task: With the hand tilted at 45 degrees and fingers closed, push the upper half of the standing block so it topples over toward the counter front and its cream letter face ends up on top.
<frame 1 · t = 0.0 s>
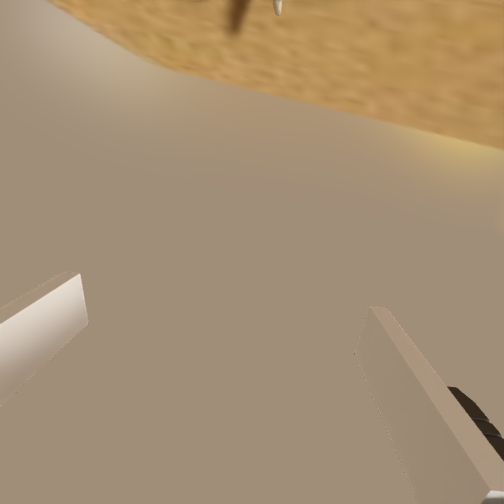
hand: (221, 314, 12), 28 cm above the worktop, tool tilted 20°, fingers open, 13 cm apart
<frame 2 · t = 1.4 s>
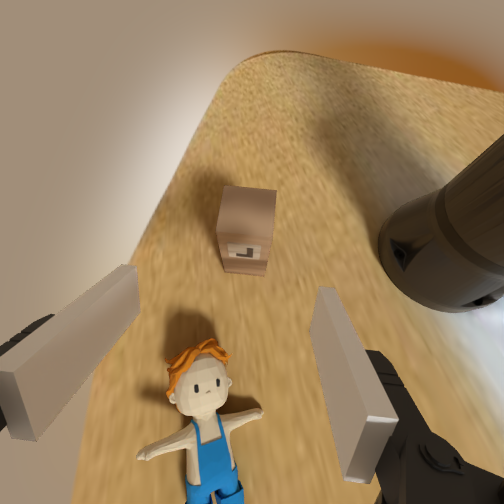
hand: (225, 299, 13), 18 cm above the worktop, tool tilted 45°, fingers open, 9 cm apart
toy: (210, 420, 26), on the worktop
block: (246, 256, 33), on the worktop
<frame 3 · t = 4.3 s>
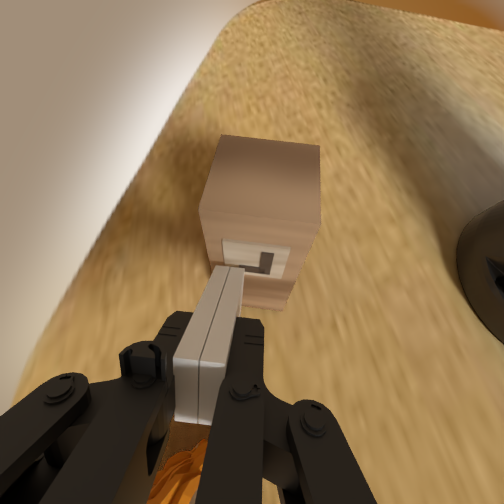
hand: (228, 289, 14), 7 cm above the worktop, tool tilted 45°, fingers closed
block: (254, 277, 21), on the worktop, tilted 9°, touching gripper
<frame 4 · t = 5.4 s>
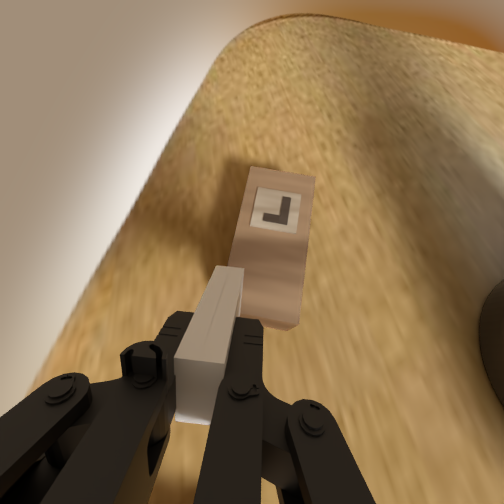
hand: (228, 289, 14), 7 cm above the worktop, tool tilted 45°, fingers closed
block: (256, 321, 18), point 2 cm above the worktop, tilted 90°
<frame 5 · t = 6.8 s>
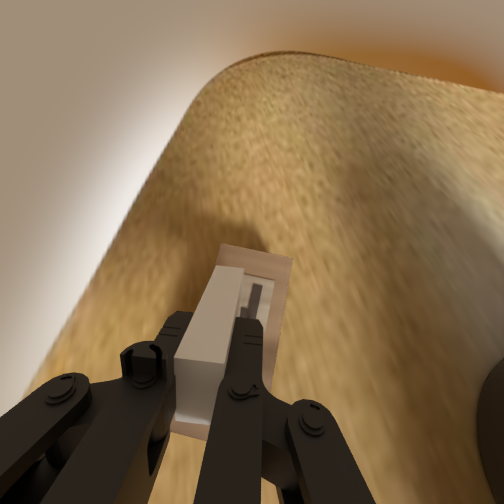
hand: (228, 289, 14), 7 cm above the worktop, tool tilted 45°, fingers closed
block: (216, 430, 15), point 2 cm above the worktop, tilted 90°
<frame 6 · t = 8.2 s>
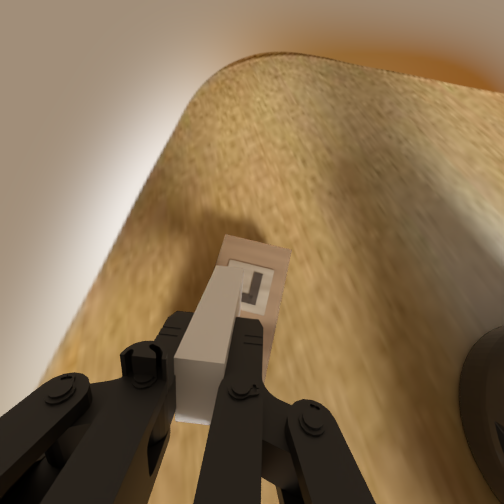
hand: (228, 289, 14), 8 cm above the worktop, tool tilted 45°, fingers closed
block: (217, 404, 17), point 2 cm above the worktop, tilted 90°
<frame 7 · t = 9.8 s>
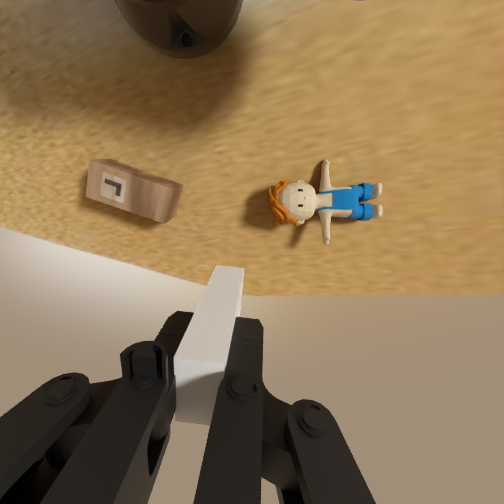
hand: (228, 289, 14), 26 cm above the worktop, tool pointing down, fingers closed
toy: (319, 198, 38), on the worktop
block: (174, 203, 37), point 2 cm above the worktop, tilted 90°
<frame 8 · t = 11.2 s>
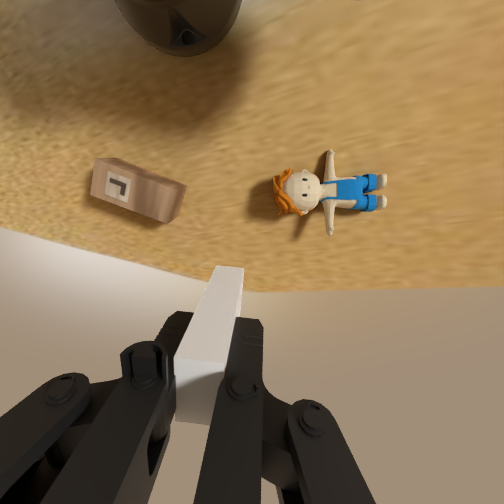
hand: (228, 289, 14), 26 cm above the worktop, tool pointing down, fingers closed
toy: (323, 189, 38), on the worktop
block: (177, 204, 37), point 2 cm above the worktop, tilted 90°
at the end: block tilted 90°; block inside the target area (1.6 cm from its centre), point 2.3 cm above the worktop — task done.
